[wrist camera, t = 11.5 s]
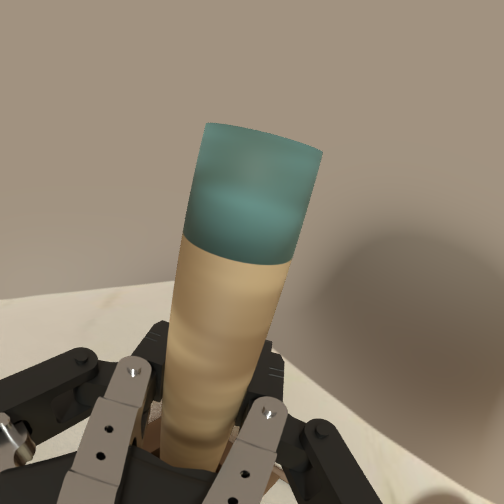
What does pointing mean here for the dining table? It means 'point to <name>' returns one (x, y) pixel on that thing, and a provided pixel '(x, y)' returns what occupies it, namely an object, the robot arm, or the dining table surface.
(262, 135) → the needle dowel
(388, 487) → the dining table surface
